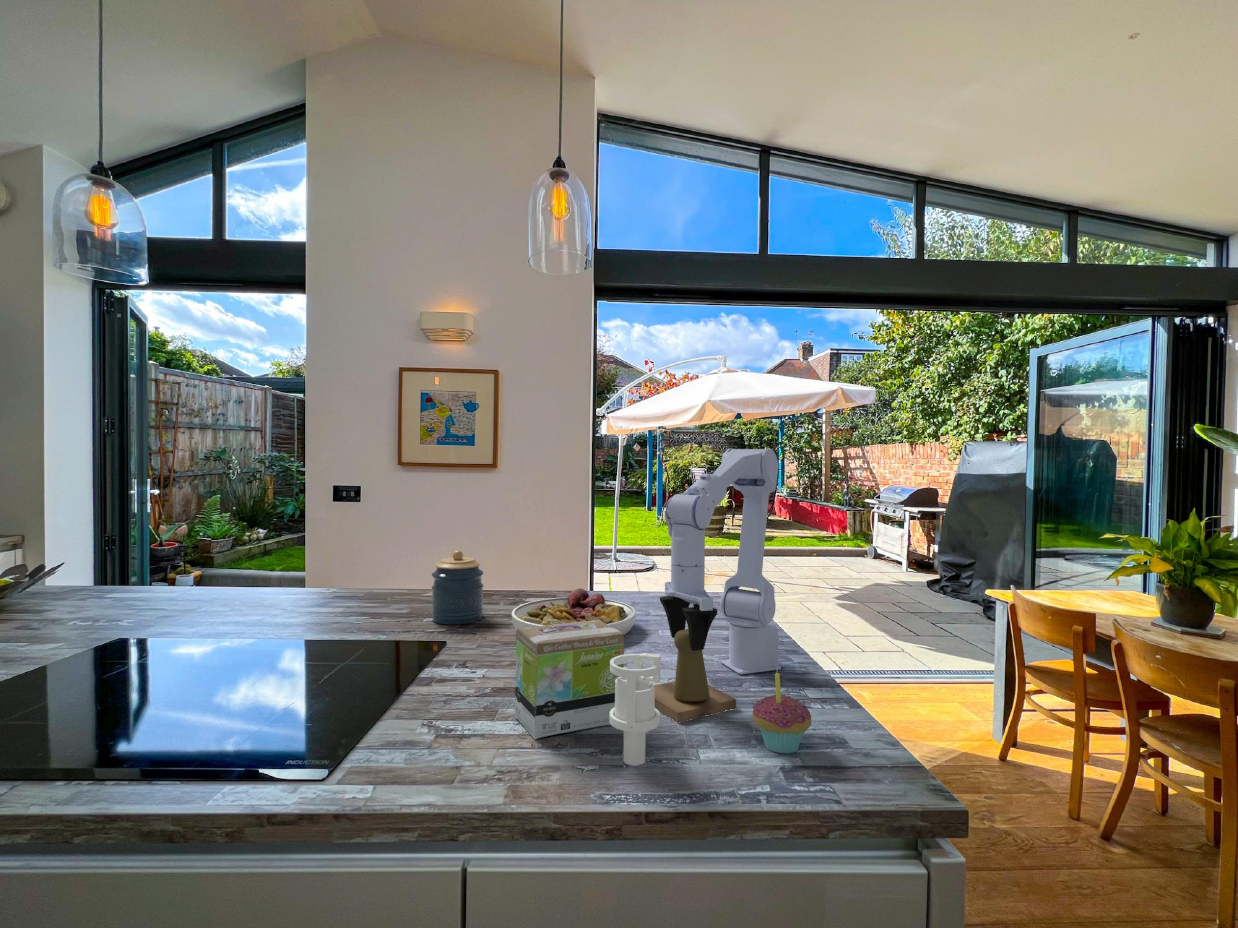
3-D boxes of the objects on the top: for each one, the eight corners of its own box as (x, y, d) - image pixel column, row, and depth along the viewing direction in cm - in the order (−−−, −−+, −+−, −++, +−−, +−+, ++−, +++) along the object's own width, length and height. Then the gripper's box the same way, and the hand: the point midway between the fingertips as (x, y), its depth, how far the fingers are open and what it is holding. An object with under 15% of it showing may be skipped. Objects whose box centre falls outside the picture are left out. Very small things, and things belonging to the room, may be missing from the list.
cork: (710, 700, 105) (708, 632, 106) (673, 701, 105) (671, 633, 106) (708, 690, 111) (706, 626, 112) (673, 691, 111) (671, 627, 112)
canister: (422, 623, 159) (422, 553, 159) (444, 611, 172) (445, 546, 172) (471, 626, 157) (471, 555, 157) (490, 613, 170) (491, 547, 170)
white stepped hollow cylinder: (656, 774, 85) (657, 663, 85) (604, 769, 86) (605, 659, 86) (662, 750, 92) (663, 647, 92) (614, 746, 93) (614, 644, 93)
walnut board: (693, 690, 118) (693, 677, 118) (736, 713, 108) (736, 698, 108) (638, 702, 112) (638, 688, 112) (677, 728, 102) (677, 712, 102)
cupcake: (801, 765, 88) (802, 679, 88) (742, 749, 93) (743, 667, 92) (817, 741, 95) (818, 662, 95) (762, 728, 100) (763, 652, 100)
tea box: (535, 742, 95) (535, 643, 94) (513, 717, 103) (514, 626, 103) (624, 723, 101) (625, 630, 101) (597, 701, 110) (598, 616, 110)
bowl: (637, 650, 140) (637, 615, 140) (500, 649, 140) (501, 613, 140) (634, 615, 170) (634, 586, 170) (521, 614, 170) (522, 585, 170)
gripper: (649, 558, 115) (649, 633, 115) (685, 573, 101) (684, 658, 101) (685, 556, 117) (684, 630, 117) (724, 570, 104) (723, 653, 104)
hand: (687, 643), depth 110 cm, fingers open, 7 cm apart
